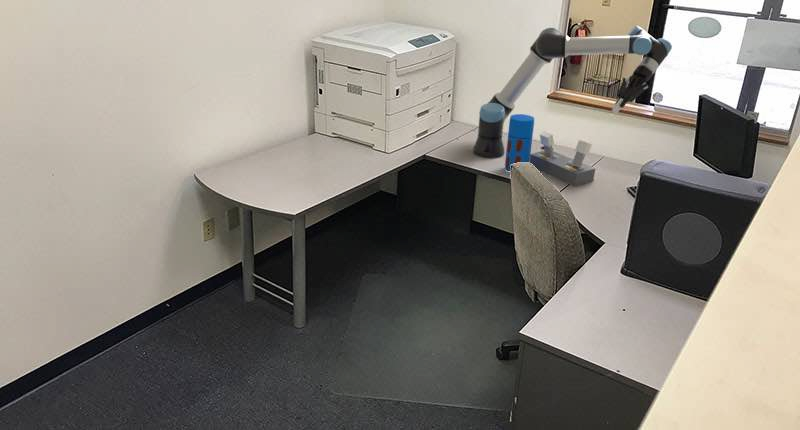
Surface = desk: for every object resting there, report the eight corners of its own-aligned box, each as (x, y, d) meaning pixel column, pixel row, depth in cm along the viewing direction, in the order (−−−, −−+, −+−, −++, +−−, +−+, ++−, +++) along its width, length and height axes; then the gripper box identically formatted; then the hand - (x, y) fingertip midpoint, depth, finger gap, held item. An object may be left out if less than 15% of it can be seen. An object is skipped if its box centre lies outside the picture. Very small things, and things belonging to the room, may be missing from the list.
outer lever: (569, 163, 277) (579, 139, 274) (573, 164, 279) (583, 140, 276) (578, 166, 273) (587, 143, 271) (582, 167, 275) (591, 144, 272)
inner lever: (542, 154, 289) (539, 134, 283) (547, 151, 290) (544, 131, 284) (550, 157, 285) (547, 137, 279) (555, 154, 286) (552, 134, 280)
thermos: (527, 175, 281) (534, 122, 270) (503, 173, 283) (509, 120, 272) (528, 167, 291) (534, 115, 280) (505, 164, 292) (510, 113, 281)
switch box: (529, 165, 292) (530, 151, 289) (547, 161, 298) (549, 146, 295) (574, 186, 271) (577, 171, 268) (593, 181, 277) (595, 165, 274)
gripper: (660, 78, 275) (629, 120, 274) (635, 72, 285) (605, 113, 284) (655, 67, 270) (623, 110, 269) (630, 61, 280) (599, 103, 279)
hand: (614, 111), depth 277 cm, fingers closed
